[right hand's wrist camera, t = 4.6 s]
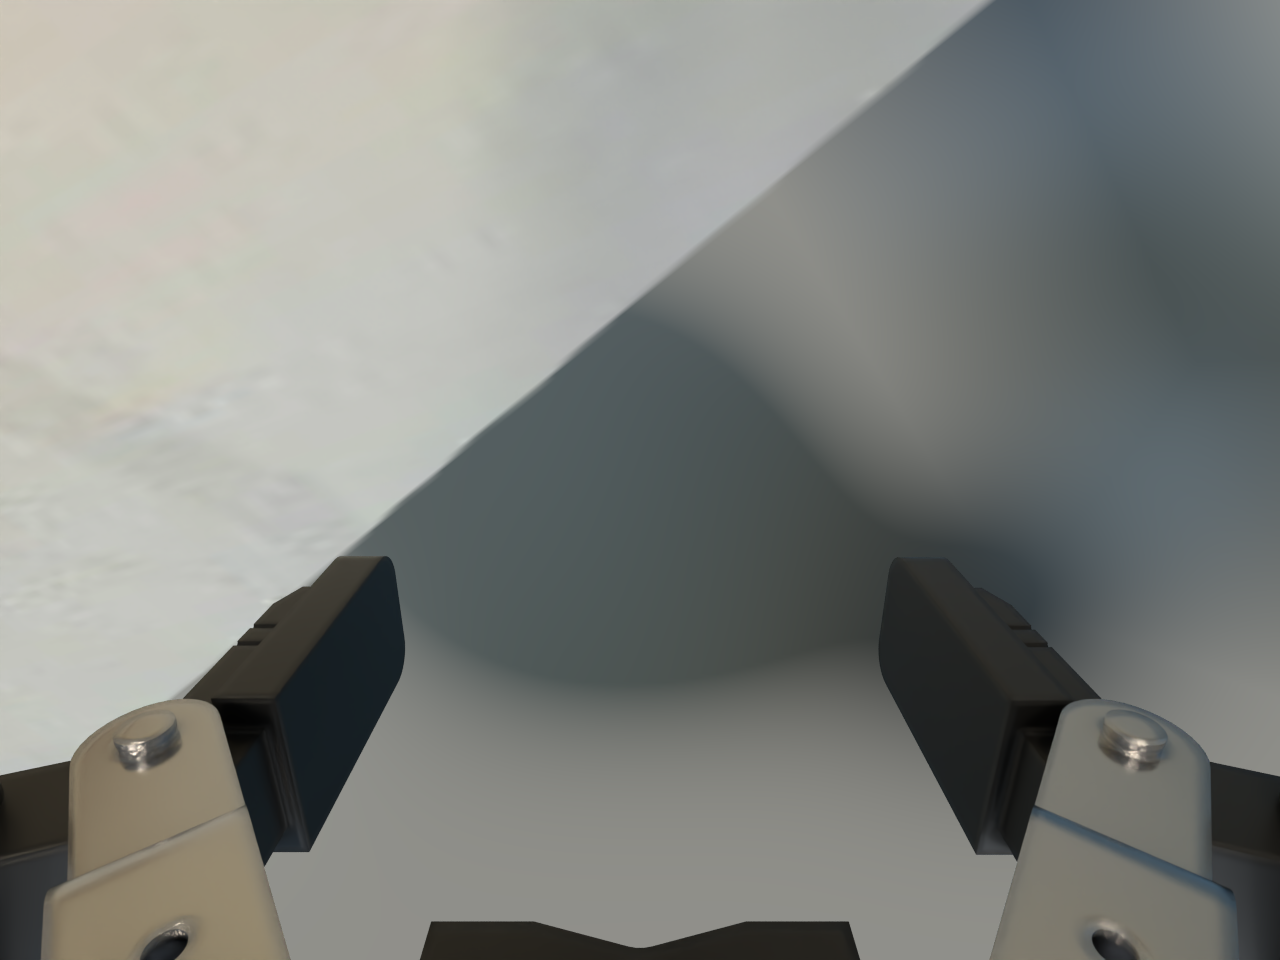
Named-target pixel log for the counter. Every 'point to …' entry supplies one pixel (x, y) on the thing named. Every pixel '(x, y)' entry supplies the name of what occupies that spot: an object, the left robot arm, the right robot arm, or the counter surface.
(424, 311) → the counter surface
